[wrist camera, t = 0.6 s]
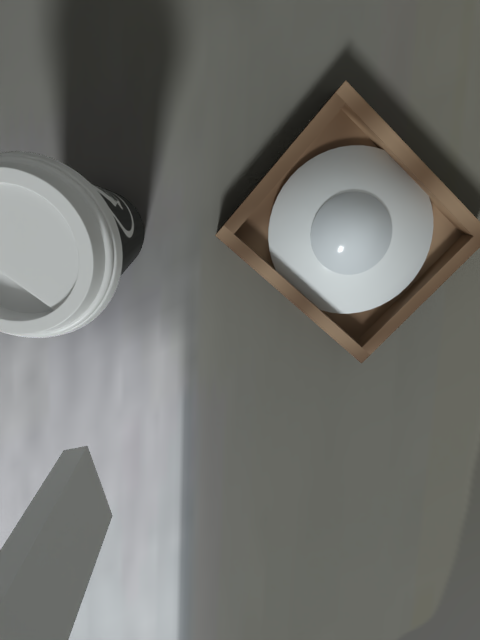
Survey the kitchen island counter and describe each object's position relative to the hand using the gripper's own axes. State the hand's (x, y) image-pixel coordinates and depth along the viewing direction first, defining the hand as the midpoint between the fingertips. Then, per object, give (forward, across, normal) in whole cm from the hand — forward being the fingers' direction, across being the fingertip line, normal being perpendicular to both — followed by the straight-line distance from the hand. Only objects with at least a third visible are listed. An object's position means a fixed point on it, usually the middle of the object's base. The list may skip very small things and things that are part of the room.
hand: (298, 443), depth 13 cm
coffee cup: (+24, -11, +7) cm, 27 cm away
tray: (+23, +8, +3) cm, 25 cm away
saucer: (+22, +8, +3) cm, 24 cm away
